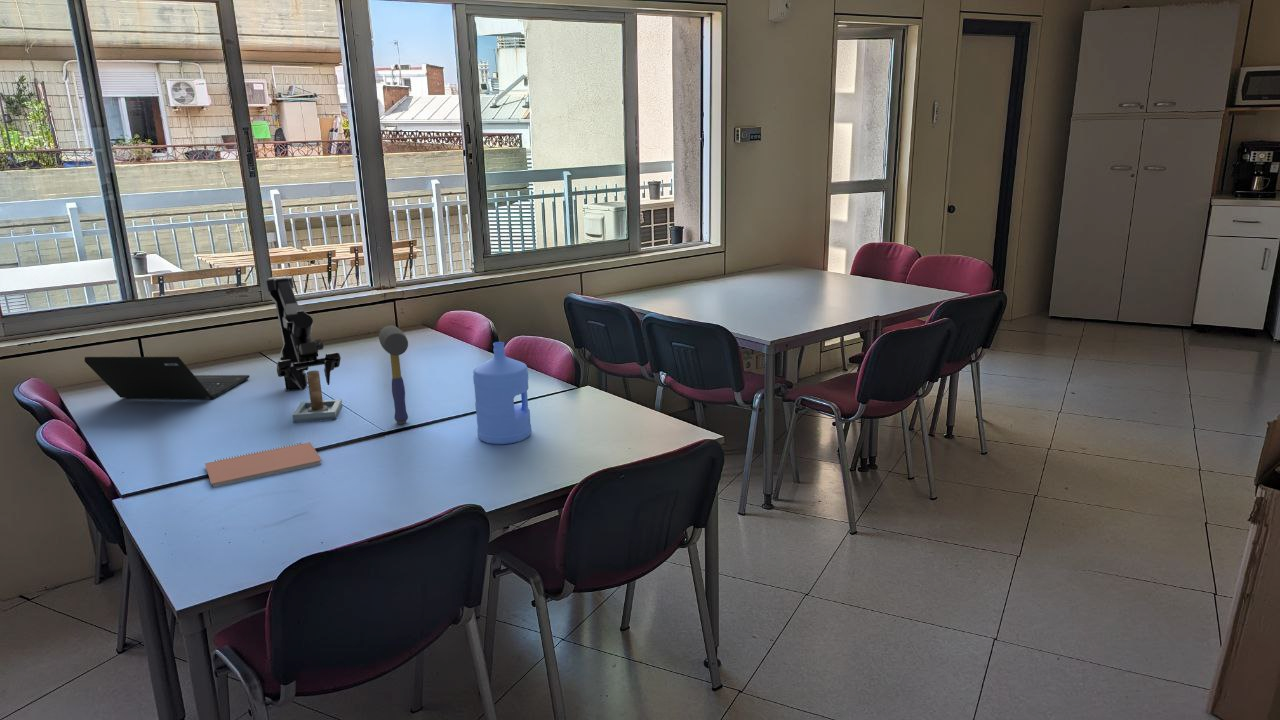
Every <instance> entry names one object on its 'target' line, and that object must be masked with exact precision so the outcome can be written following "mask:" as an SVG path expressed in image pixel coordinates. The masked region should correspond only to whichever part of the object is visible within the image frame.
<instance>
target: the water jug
mask: <svg viewBox="0 0 1280 720" xmlns="http://www.w3.org/2000/svg"><path fill="white" fill-rule="evenodd" d="M492 345H493V350H492V351H493V357H492V358H489V359H488V360H486V361H483V362H481V363H478V365H476V366H475V367H474V368H473V371H472V373H473V375H472V378H473V381H472V382H473V386H474V397H475V403H474V404H475V405H474V406H475V412H476V413H475V414H476V423H477V429H476V430H477V431H476V432H477V437H478V439H479V440H480V441H481V442H484V443H487V444H491V445H509V444H510V445H511V444H514V443H515V444H516V443H519V442H521V441H524V440H526V439H527V438H529V436H530V435H531V433H532V425H531V410H530V408H529V403H528V402H529V401H528V399H529V398H528V390H529V371H528V366H527V364H526V363H524V362H522V361H520V360H516V359H514V358H511V357H508V356H506V354H505V353H506V349H505V342H504V341H503V342H502V341H495V342H493V343H492ZM519 395H520V397H521V404H516V403H515V402H514V401H515V400H514V399H515V397H516V396H519Z"/></svg>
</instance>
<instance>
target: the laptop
mask: <svg viewBox="0 0 1280 720" xmlns="http://www.w3.org/2000/svg"><path fill="white" fill-rule="evenodd" d="M84 363H85V364H86V365H88V367H90V369H91V370H93V372H94V373H95V374H96V375H98V377H99V378H100V379H101V380H102V381H103V382H104V383H105V384H106V385H108V387H109V388H111V390H112V391H113V392H114V393H115V394H116V395H117V396H118V397H119V398H123V399H125V400H127V399H128V400H129V399H140V400H141V399H144V400H145V399H146V400H148V399H152V400H157V399H159V400H160V399H163V400H164V399H165V400H166V399H168V400H169V399H172V400H173V399H177V400H178V399H180V400H181V399H182V400H184V399H185V400H186V399H187V400H188V399H189V400H190V399H193V400H194V399H195V400H197V399H203V400H205V399H206V400H210V399H214V398H216V397H218V396H220V395H222V394H223V393H226V392H227V391H229V390H230V389H231V390H232V388H234V387H235V386H238V385H240V384H241V383H243V382H245V381H246V380H248V379H249V378H250V375H249V374H243V375H242V374H236V375H233V374H232V375H231V374H230V375H229V374H228V375H227V374H224V375H223V374H221V375H220V374H218V375H217V374H215V375H214V374H213V375H212V374H211V375H209V374H205V375H203V374H201V375H198V374H194V373H193V371H191V369H190V368H189V367H188V366H187V365H186V364H185V362H184V361H183V360H182V359H181V358H180V357H179V356H84Z"/></svg>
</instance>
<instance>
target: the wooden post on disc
mask: <svg viewBox="0 0 1280 720" xmlns="http://www.w3.org/2000/svg"><path fill="white" fill-rule="evenodd" d="M306 374H307V382H308V384H307V386H308V393H309V400H310V401H311V407H310V408H308V412H318V411H328V407H327V406H325V405H323V400H324V399H323V393H322V385H321V377H320V371H319V370H309V371H307V372H306Z"/></svg>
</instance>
